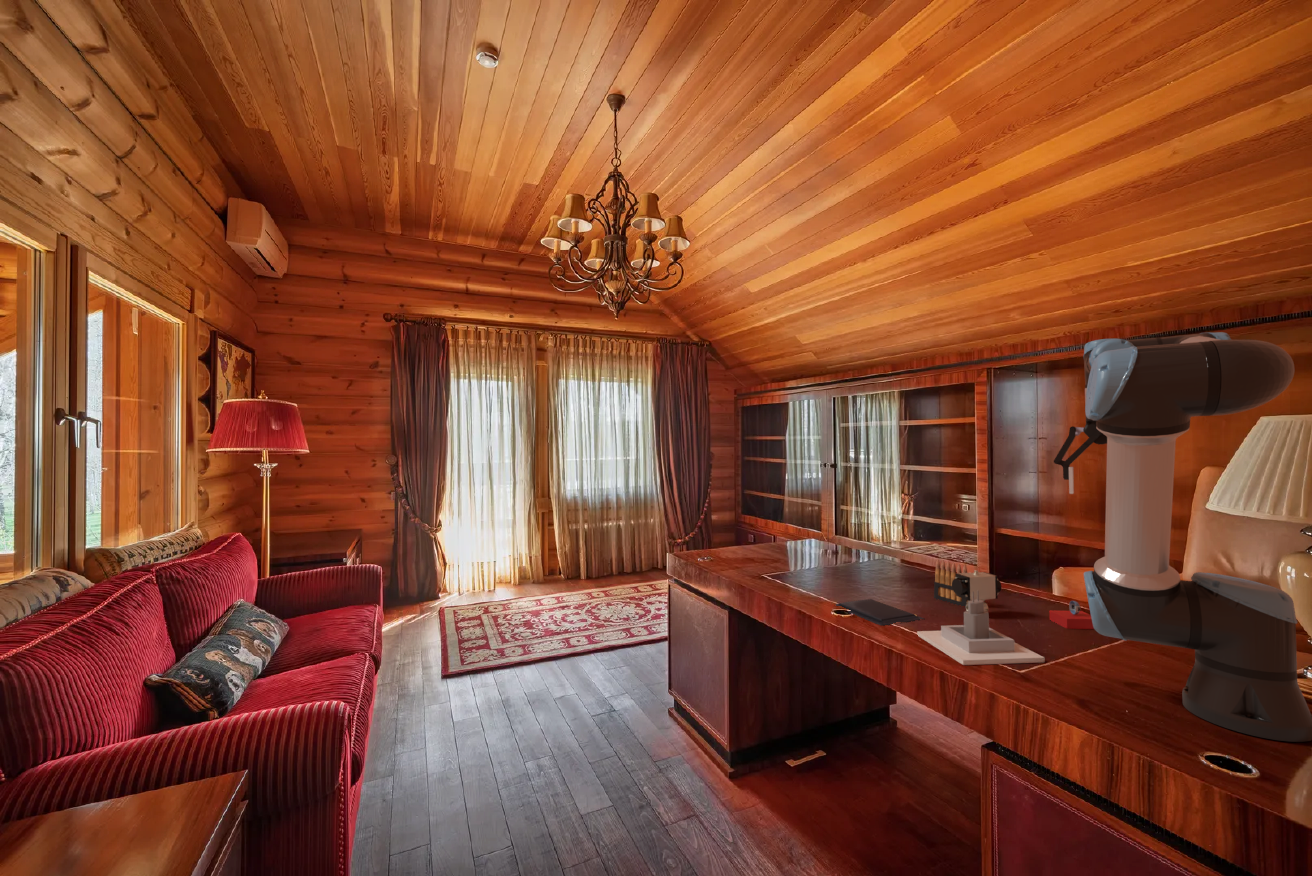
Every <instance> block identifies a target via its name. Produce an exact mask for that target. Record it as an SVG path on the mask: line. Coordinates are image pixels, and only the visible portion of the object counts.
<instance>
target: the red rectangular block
mask: <svg viewBox="0 0 1312 876" xmlns="http://www.w3.org/2000/svg"><path fill="white" fill-rule="evenodd" d="M1068 605H1069V606H1068V607H1069V608H1068V609H1069V610H1054V609H1053V610H1049V621H1050V620H1051V621H1050V622H1053V623H1054V622H1055V623H1054V624H1056V623H1057V625H1058V626H1061V627H1063V628H1065V629H1066V630H1067V629H1068V630H1070V629H1071V630H1095V629H1094V627H1093V623H1092V619H1091V613H1090V614H1089V613H1088V612H1084V611H1083V610H1081V606H1080V604H1079V602H1078V601H1076V600H1071V601H1070V602H1069V604H1068Z"/></svg>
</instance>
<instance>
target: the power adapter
mask: <svg viewBox="0 0 1312 876" xmlns="http://www.w3.org/2000/svg"><path fill="white" fill-rule="evenodd" d="M977 594H978V595H977V600H974V592H973V596H972V597H973V600H970V601H968V611H966V610H965V611H963V625H964V636H966V637H967V638H969V639H989V628H990V624H989V623H990V618H989V617H990V616H989V611H984V603H985V601H983V600H979V591H977Z"/></svg>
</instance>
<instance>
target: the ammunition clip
mask: <svg viewBox="0 0 1312 876" xmlns="http://www.w3.org/2000/svg"><path fill="white" fill-rule="evenodd" d="M956 573H968V568H967V566H966V564H964V565H963V567H962V566H961V563H958V564H957V567H956V564H955V561H954V562H952V564H950V561H948V560H947V562H946V564H945V561H944V560H941V563H940V559H938V558H937V560H936V562H935V572H934V575H935V576H934V577H935V578H934V579H935V580H934V582H933V583H934V584H933V585H934V587H933V589H934V590H933V598H936V599H935V600H938V599H939V601H941V600H942V602H945V601H947V602H946V603H948V602H950V603H949V604H952V603H953V605H955V604H956V606H959V605H961V606H960V607H962V606H965V607H964V608H966V605H967V603H966V602H967V601H971V600H966V599H963V598H961V597H958V596H956V594H955V592H954V591H953V589H952V581H953V580H954V579H955V577H956Z"/></svg>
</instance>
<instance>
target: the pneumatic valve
mask: <svg viewBox="0 0 1312 876" xmlns="http://www.w3.org/2000/svg"><path fill="white" fill-rule="evenodd" d="M952 589H953V591H954V592H955V594H956V596H958V597H961V598H963V599H966V600H970V601H971V600H973V597H972V596H973V592H974V600H977V595H978V594H977V591H979V600H982V601H984V611H987V612H989V606H988V603H986V602H985V601H986V600H994V599H995V600H996V599H997V600H998V599H999V598H998V595H999V593H1000V592H1001V591H1002V583H1001V581H1000V580H999V578H998V575H995V574H992V573H989V572H986V571H981V572H980V571H978V570H976V569H975V570H973V572H971V571H970V572H967V573H963V572H962V573H957V572H956V577H955V579H954V580H953V581H952ZM966 603H967V605H966V607H965V611H968V601H967V602H966Z"/></svg>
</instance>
